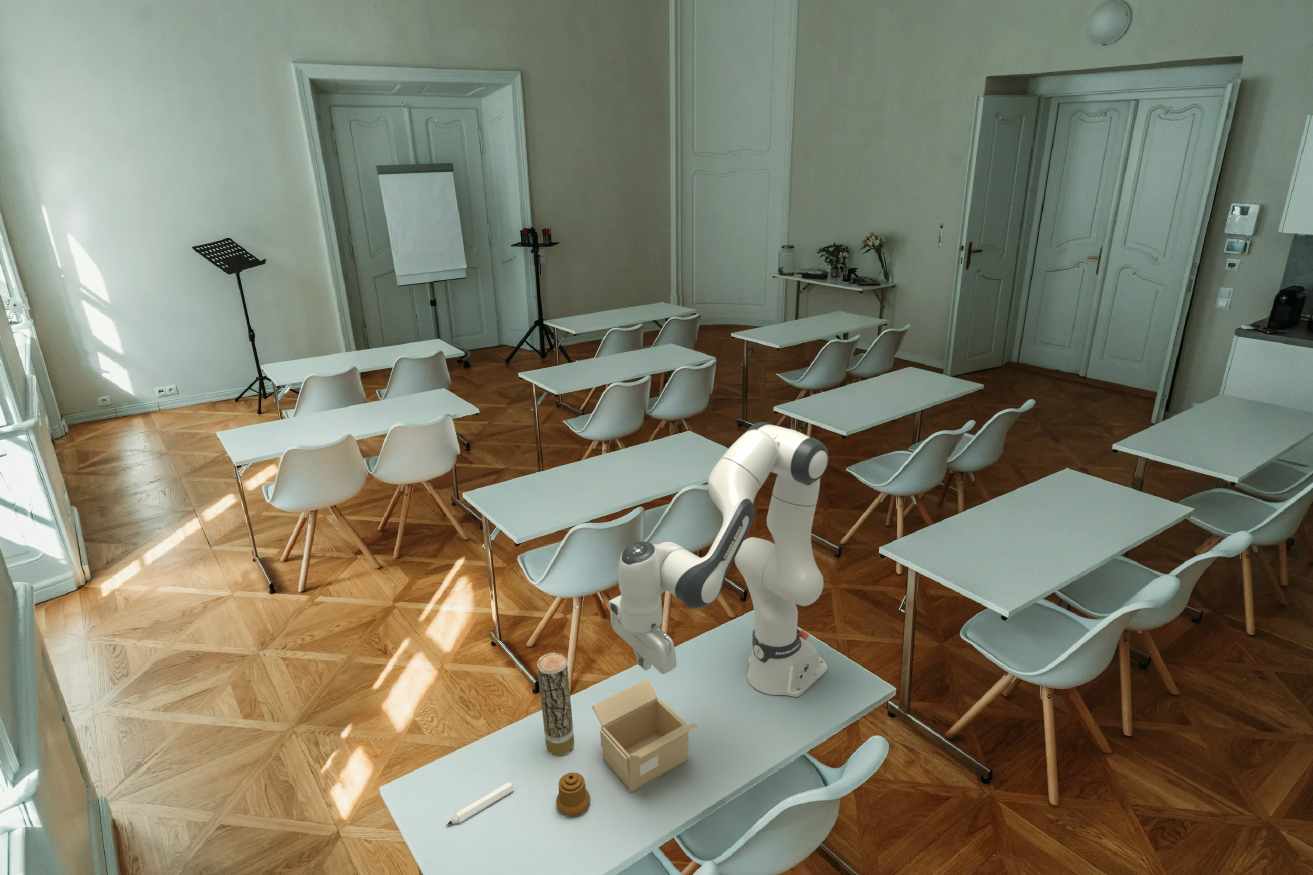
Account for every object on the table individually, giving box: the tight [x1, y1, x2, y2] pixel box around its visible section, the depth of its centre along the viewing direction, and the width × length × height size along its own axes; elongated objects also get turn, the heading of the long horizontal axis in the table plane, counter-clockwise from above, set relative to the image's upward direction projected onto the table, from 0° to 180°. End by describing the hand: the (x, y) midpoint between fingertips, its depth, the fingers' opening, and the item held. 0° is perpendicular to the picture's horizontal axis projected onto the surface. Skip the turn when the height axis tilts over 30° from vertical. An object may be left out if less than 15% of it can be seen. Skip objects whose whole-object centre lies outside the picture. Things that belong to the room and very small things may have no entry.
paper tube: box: [536, 652, 575, 756], centre depth 182 cm, size 7×7×25 cm
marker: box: [445, 781, 515, 827], centre depth 170 cm, size 3×2×16 cm
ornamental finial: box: [555, 771, 591, 817], centre depth 169 cm, size 8×8×8 cm
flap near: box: [629, 723, 698, 758], centre depth 172 cm, size 16×1×5 cm
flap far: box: [591, 678, 658, 727], centre depth 183 cm, size 16×1×5 cm
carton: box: [599, 697, 689, 793], centre depth 180 cm, size 17×12×10 cm
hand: (644, 666), depth 171 cm, fingers closed
